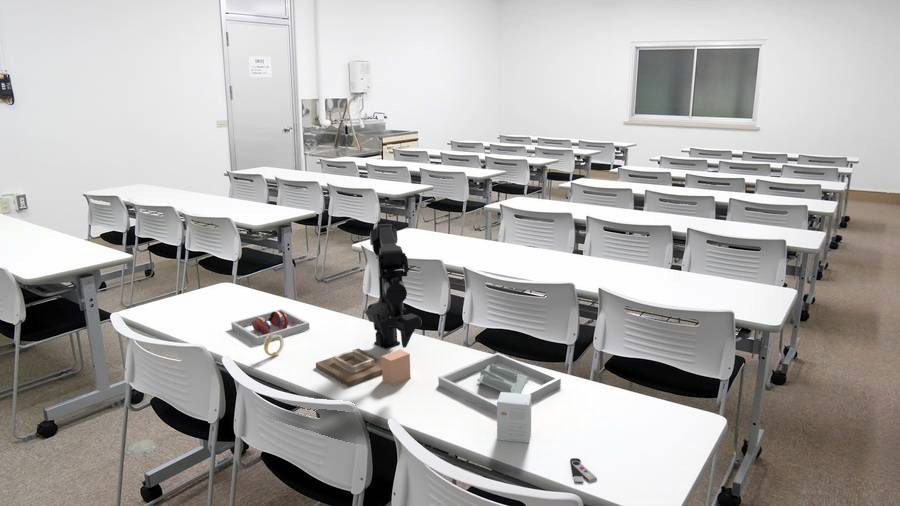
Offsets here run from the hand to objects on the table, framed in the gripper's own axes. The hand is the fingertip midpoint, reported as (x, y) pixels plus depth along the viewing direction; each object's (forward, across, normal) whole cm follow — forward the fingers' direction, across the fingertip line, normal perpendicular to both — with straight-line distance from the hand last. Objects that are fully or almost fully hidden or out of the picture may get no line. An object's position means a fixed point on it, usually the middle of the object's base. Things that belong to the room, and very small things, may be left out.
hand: (394, 342), depth 189 cm
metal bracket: (+12, +25, +20) cm, 34 cm away
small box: (+12, +45, +2) cm, 47 cm away
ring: (+12, -41, -18) cm, 46 cm away
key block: (+12, 0, 0) cm, 12 cm away
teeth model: (+12, -63, -8) cm, 65 cm away
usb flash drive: (+12, +66, +2) cm, 67 cm away
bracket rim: (+12, +24, +19) cm, 33 cm away
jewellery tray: (+12, -63, -8) cm, 65 cm away
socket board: (+12, -15, -5) cm, 20 cm away
